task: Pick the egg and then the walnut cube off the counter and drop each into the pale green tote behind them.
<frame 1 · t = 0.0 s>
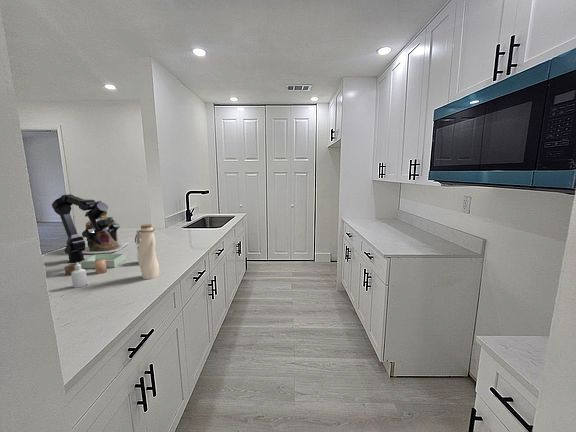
hand: (108, 242, 154), 15 cm above the counter, tool tilted 35°, fingers open, 9 cm apart
tote: (104, 264, 162), on the counter
eye dropper bottle: (80, 286, 131), on the counter
can: (145, 262, 166), on the counter
egg: (101, 272, 149), on the counter
water bottle: (149, 277, 143), on the counter
cookie jar: (104, 250, 194), on the counter
walnut cube: (73, 273, 147), on the counter
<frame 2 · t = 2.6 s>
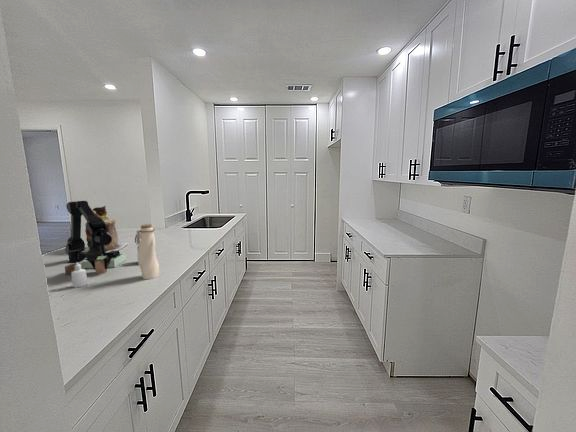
hand: (101, 269, 149), 2 cm above the counter, tool pointing down, fingers closed on egg, 5 cm apart
egg: (101, 272, 149), on the counter, touching gripper
everything else where it was.
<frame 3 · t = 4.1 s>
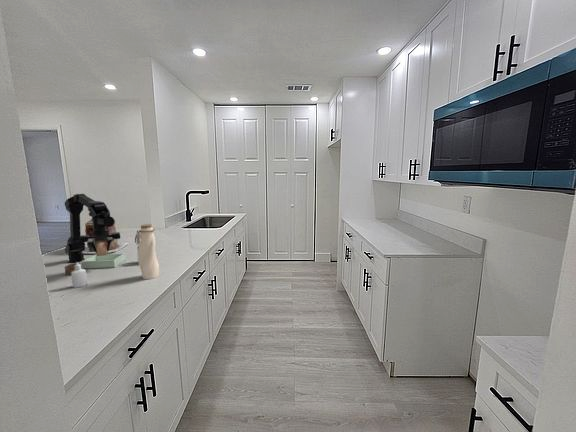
hand: (102, 251, 151), 11 cm above the counter, tool pointing down, fingers closed on egg, 5 cm apart
egg: (102, 254, 152), point 9 cm above the counter, touching gripper
everything else where it was.
when the fingers open (5 cm above the counter, at t = 6.0 s): egg drops 3 cm, resting on tote.
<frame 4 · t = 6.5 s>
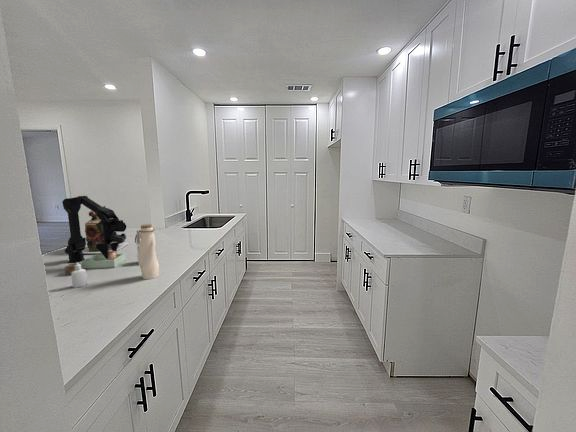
hand: (111, 256, 162), 5 cm above the counter, tool pointing down, fingers open, 9 cm apart
egg: (112, 263, 162), point 1 cm above the counter, touching tote
everything else where it was.
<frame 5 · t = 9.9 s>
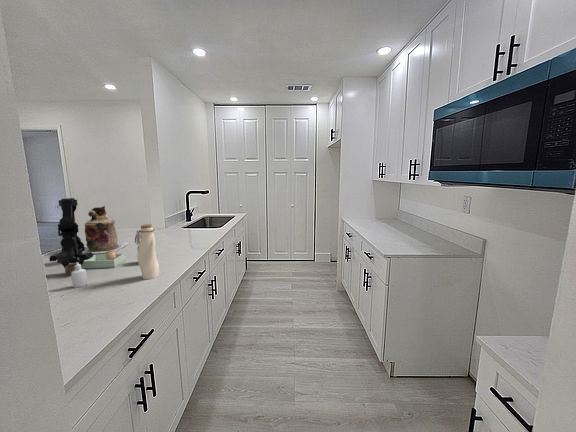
hand: (73, 271, 147), 1 cm above the counter, tool pointing down, fingers closed on walnut cube, 5 cm apart
walnut cube: (73, 273, 147), on the counter, touching gripper
everything else where it was.
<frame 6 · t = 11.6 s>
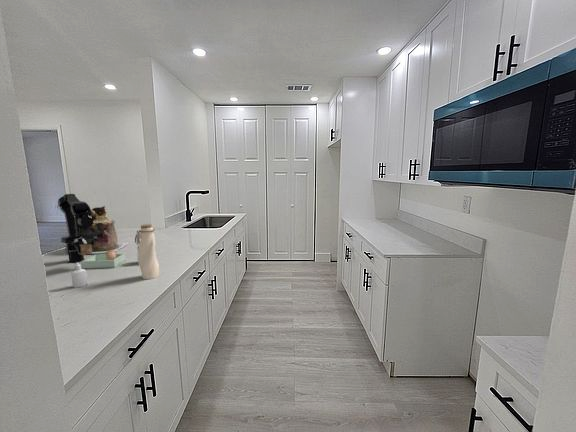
hand: (85, 251, 153), 10 cm above the counter, tool pointing down, fingers closed on walnut cube, 5 cm apart
walnut cube: (85, 253, 154), point 9 cm above the counter, touching gripper
everything else where it was.
when the fingers open (5 cm above the counter, at t = 13.3 s): walnut cube drops 3 cm, resting on tote.
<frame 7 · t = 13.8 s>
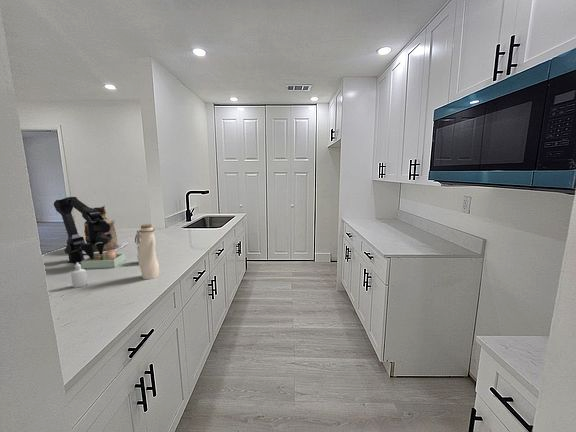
hand: (96, 256, 161), 5 cm above the counter, tool pointing down, fingers open, 9 cm apart
walnut cube: (97, 263, 161), point 1 cm above the counter, touching tote
everything else where it was.
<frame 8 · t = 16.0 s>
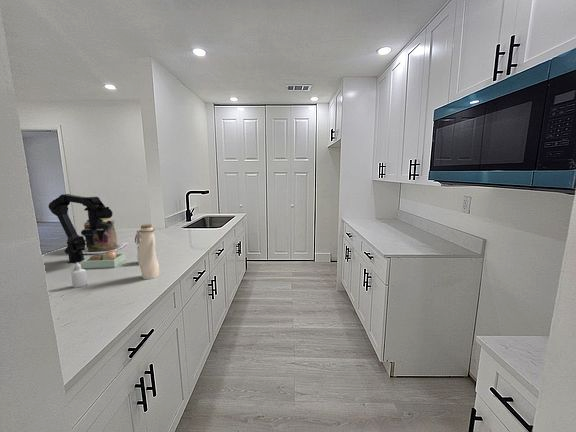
hand: (97, 243, 163), 12 cm above the counter, tool pointing down, fingers open, 9 cm apart
nothing on the counter moved.
at the end: egg inside the target area on the tote (4.0 cm from its centre), point 0.7 cm above the tote's base; walnut cube inside the target area on the tote (4.0 cm from its centre), point 0.6 cm above the tote's base; the gripper is holding nothing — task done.
